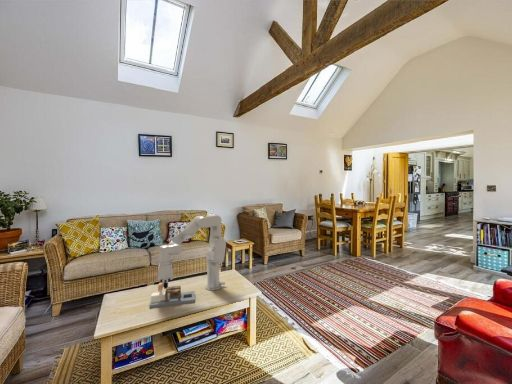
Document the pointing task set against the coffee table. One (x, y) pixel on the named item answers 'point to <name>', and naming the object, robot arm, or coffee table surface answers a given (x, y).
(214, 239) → the robot arm
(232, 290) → the coffee table surface
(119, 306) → the coffee table surface
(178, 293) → the tunnel
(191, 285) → the coffee table surface
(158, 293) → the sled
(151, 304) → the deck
